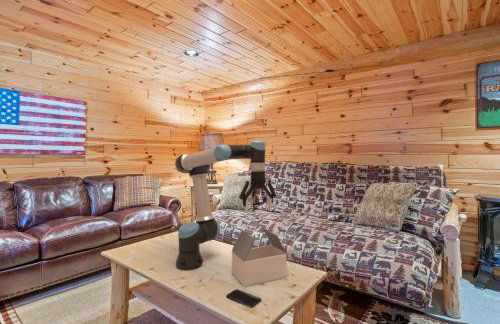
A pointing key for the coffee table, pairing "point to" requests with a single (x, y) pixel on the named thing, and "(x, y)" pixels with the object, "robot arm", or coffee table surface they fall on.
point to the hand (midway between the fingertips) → (258, 211)
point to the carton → (259, 266)
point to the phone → (243, 298)
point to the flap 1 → (243, 245)
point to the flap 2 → (274, 240)
